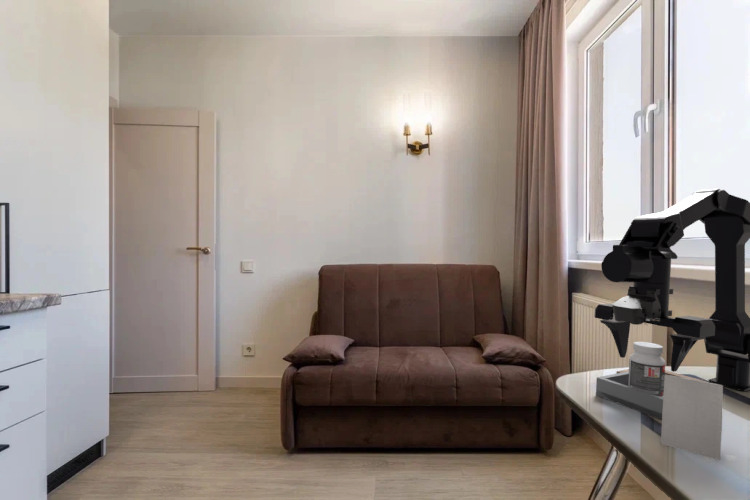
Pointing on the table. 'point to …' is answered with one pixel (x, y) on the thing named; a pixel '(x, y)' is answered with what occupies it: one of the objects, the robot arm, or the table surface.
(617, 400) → the parts tray
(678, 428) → the upright grey panel
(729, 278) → the robot arm
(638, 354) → the pill bottle
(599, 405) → the table surface
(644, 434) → the table surface
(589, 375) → the table surface
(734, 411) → the table surface
